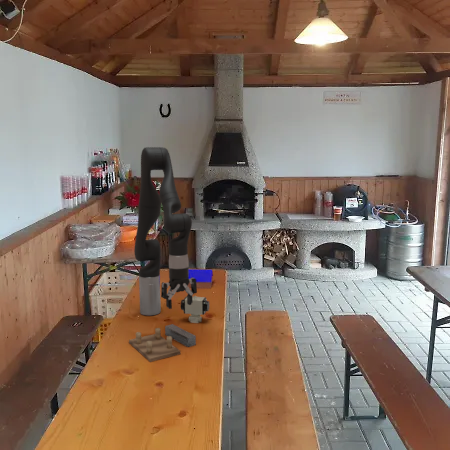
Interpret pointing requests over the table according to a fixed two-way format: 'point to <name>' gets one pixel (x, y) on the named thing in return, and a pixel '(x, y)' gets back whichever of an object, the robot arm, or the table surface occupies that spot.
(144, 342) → the cradle
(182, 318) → the table surface
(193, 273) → the house
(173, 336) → the bar
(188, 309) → the pneumatic valve
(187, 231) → the robot arm
